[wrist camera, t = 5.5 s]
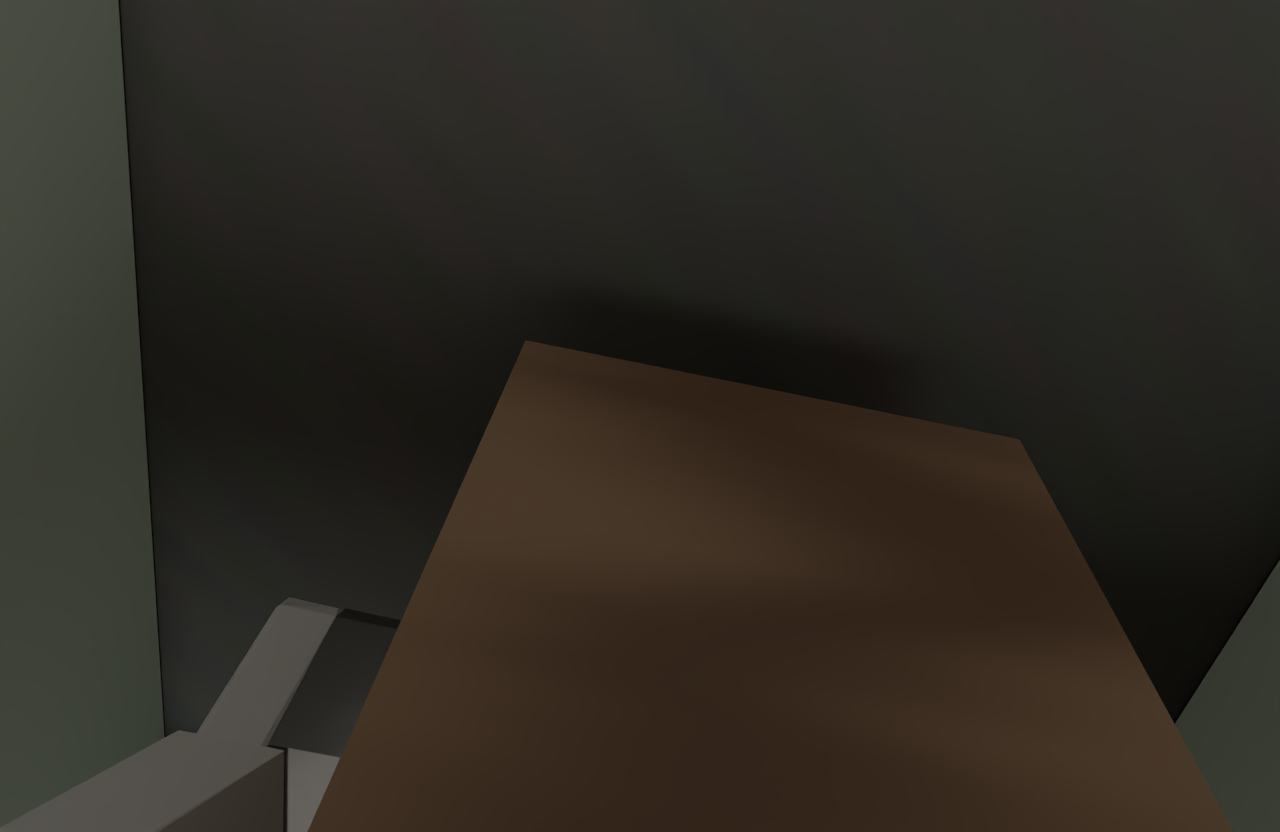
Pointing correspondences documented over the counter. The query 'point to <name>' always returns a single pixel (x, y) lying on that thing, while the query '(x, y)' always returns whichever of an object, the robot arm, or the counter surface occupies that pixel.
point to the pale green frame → (118, 472)
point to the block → (753, 632)
